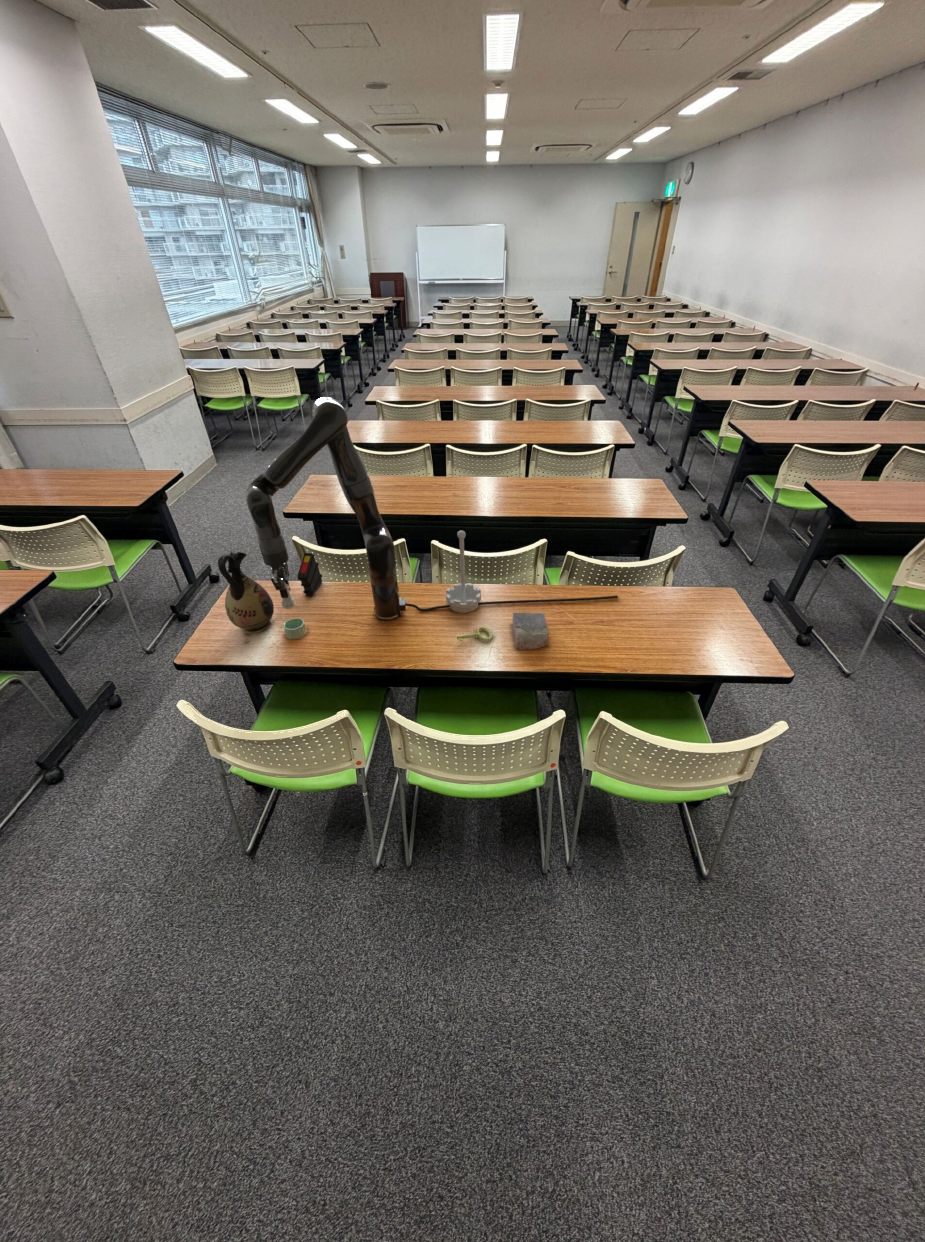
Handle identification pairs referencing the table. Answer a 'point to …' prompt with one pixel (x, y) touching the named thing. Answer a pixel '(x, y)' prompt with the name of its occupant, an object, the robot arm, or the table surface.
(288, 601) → the rook chess piece
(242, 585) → the ceramic jug
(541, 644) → the geological specimen
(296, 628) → the cup
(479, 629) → the key
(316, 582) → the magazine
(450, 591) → the flag stand
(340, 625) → the table surface
